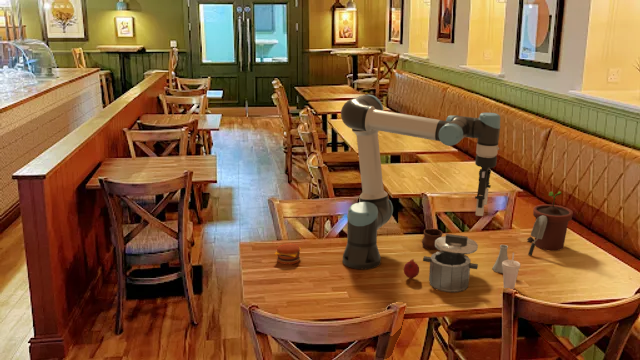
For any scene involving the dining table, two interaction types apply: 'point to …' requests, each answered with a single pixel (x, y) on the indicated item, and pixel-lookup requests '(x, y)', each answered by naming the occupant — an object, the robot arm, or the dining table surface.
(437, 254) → the pot
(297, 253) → the hamburger
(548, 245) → the potted plant
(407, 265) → the onion
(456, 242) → the lid
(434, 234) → the ceramic pot
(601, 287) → the dining table surface
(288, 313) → the dining table surface
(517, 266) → the smoothie
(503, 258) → the flask
